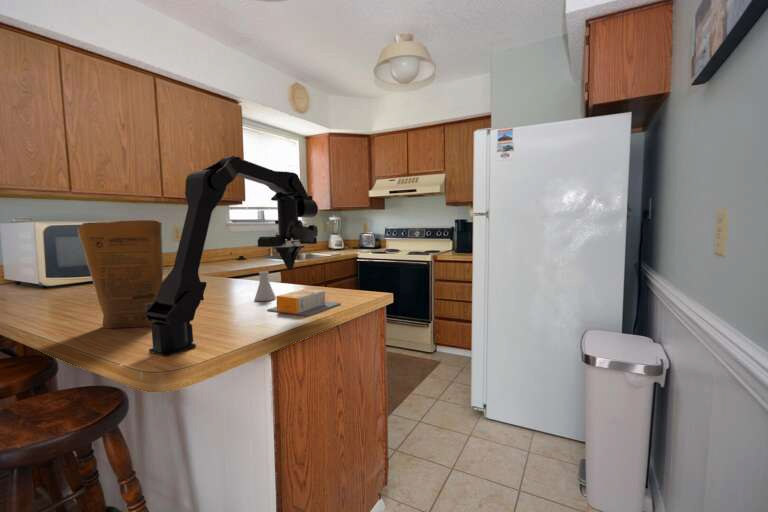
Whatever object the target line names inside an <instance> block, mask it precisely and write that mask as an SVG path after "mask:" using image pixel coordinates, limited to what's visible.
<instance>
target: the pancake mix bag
mask: <svg viewBox="0 0 768 512" xmlns="http://www.w3.org/2000/svg"><path fill="white" fill-rule="evenodd" d="M162 224H163V222H160V221H158V220H153V219H152V220H143V219H141V220H140V219H139V220H120V221H118V220H117V221H108V222H106V221H105V222H104V221H102V222H99V221H98V222H84V223H82V224H81V226H77V236H78V240H79V241H80V244H81V247H82V250H83V253H84V254H83V255H84V257H85V258H84V259H85V261H86V265H87V268H88V270H89V274H90V277H91V280H92V283H93V286H94V289H95V293H96V297H97V300H98V305H99V306H100V309H101V312H102V315H103V317H102V327H103V328H104V329H107V330H109V329H110V330H111V329H124V328H125V329H128V328H151V324H152V323H155V322H153V321H148V319H147V317H146V316H145V312H146V310H147V309H148V308H149V307H150V306H151V305H152V303H153V302H154V301H155V300H156V299H157V294H158V292H159V289H160V287H161V285H162V283H163V281H164V279H163V275H164V264H163V261H164V259H163V236H162V233H163V232H162V229H163V227H162V226H163V225H162Z"/></svg>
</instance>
